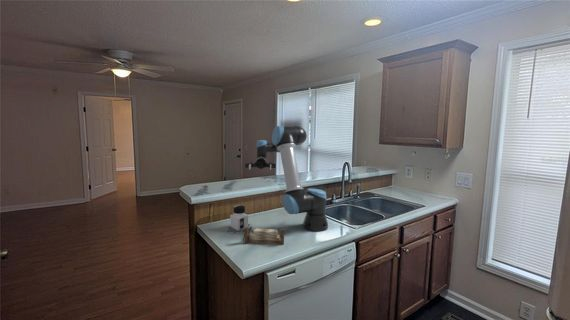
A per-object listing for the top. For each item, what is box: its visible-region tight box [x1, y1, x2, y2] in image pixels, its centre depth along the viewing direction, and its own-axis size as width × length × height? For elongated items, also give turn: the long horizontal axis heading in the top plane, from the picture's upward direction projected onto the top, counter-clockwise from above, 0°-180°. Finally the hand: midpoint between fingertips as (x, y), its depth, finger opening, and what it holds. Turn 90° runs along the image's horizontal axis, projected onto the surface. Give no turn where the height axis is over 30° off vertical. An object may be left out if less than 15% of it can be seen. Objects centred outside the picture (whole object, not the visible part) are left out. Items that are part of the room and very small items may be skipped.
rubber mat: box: [227, 223, 251, 233], centre depth 158 cm, size 11×11×1 cm
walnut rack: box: [243, 226, 285, 246], centre depth 146 cm, size 21×17×8 cm
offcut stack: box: [249, 228, 280, 241], centre depth 141 cm, size 16×5×4 cm, turn 88°
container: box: [229, 204, 249, 231], centre depth 157 cm, size 8×8×13 cm
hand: (260, 167), depth 170 cm, fingers open, 13 cm apart
